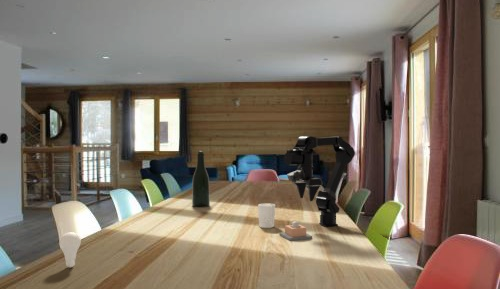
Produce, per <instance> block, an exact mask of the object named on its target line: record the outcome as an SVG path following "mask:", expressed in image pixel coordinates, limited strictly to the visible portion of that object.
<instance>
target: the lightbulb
mask: <svg viewBox="0 0 500 289" xmlns="http://www.w3.org/2000/svg"><path fill="white" fill-rule="evenodd" d="M81 243H82V239H81V237H80V235H79V234H78V233H77V232H74V231H73V232H71V231H70V232H66V233H64V234H63V235H62V236H61V237H60V238H59V243H58V244H59V247H60V249H61V251H62V252H63V254H64V255H63V256H64V259H65V266H66V267H68V268H69V269H70V268H73V266H74V267H75V265H76V258H77V252H78V250H79V248H80V246H81Z"/></svg>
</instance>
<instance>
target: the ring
mask: <svg viewBox="0 0 500 289" xmlns="http://www.w3.org/2000/svg"><path fill="white" fill-rule="evenodd" d="M284 232H285V234H287V235H289V236H291V237H296V236H306V233H307V227H306V226H304V225H301V224H299V227H298V228H292V224H289V225H288V224H287V225H285V226H284Z"/></svg>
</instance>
